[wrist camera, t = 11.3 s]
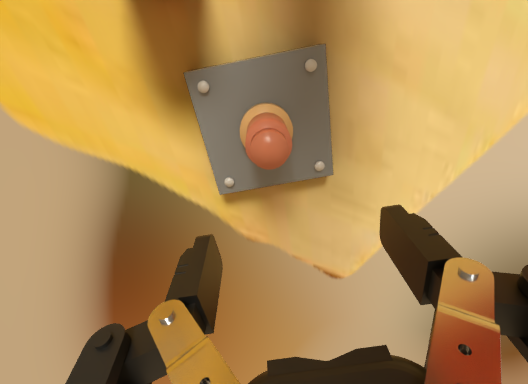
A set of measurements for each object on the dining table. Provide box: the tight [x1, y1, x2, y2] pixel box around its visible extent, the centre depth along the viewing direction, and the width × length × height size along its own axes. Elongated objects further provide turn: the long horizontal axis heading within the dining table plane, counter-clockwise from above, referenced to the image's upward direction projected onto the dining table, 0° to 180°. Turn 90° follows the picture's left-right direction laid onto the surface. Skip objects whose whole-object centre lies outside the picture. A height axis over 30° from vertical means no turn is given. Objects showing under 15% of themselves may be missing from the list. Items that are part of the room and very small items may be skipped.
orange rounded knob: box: [245, 112, 292, 170], centre depth 27 cm, size 5×5×6 cm
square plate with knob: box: [184, 44, 333, 195], centre depth 31 cm, size 15×15×4 cm
